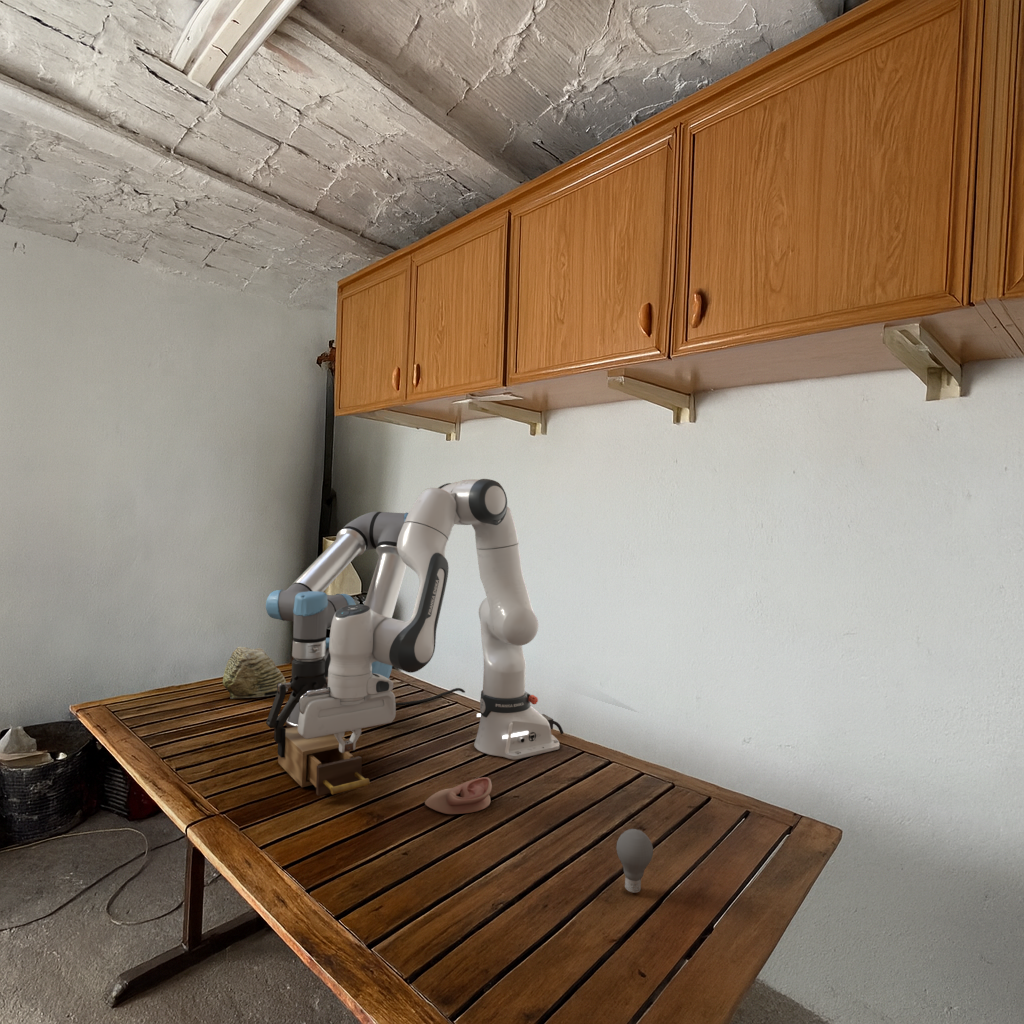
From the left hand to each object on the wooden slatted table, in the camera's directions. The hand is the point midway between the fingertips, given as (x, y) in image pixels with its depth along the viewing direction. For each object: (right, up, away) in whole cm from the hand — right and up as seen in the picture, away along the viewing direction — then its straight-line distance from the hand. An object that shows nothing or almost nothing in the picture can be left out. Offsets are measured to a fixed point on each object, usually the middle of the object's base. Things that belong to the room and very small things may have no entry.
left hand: (305, 750), depth 150 cm
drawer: (+10, -2, -13) cm, 16 cm away
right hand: (+15, +7, -19) cm, 25 cm away
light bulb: (+69, -7, -44) cm, 82 cm away
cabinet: (+3, -3, -4) cm, 6 cm away
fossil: (-32, -1, +48) cm, 57 cm away
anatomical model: (+38, -5, -16) cm, 41 cm away
